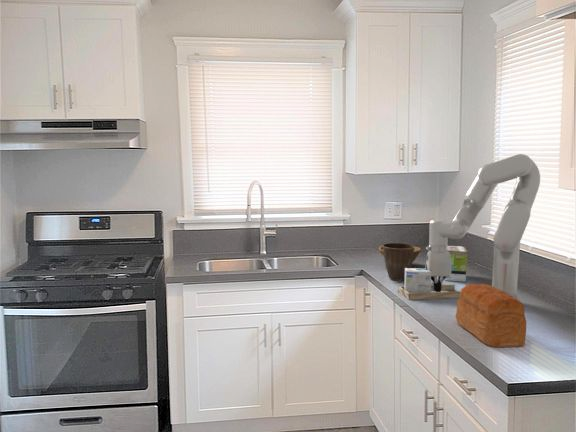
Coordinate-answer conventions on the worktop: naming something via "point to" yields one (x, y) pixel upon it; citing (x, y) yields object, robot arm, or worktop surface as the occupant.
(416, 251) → the bowl
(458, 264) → the tea box
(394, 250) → the plant pot
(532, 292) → the worktop surface
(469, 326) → the bread
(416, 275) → the light bulb box
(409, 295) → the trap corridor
